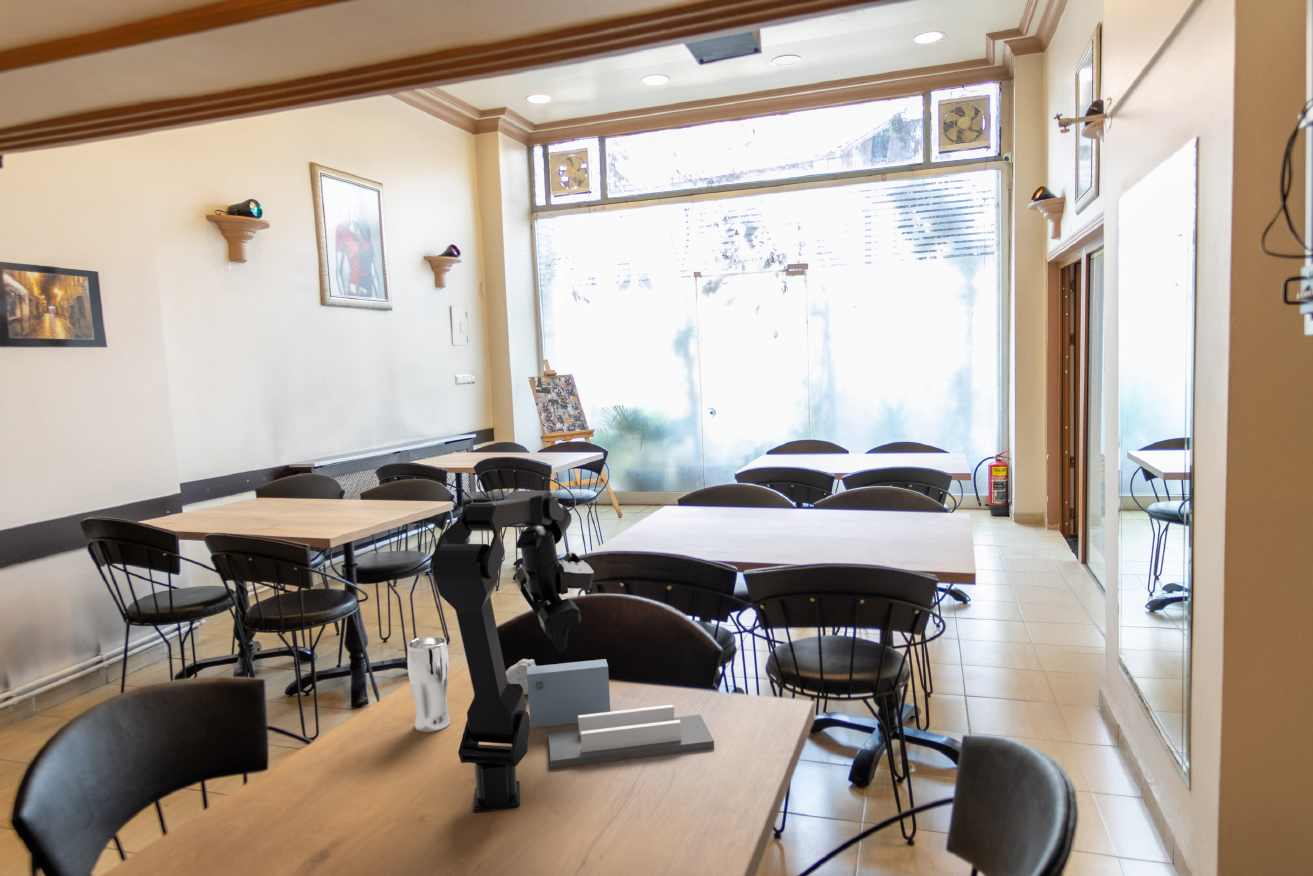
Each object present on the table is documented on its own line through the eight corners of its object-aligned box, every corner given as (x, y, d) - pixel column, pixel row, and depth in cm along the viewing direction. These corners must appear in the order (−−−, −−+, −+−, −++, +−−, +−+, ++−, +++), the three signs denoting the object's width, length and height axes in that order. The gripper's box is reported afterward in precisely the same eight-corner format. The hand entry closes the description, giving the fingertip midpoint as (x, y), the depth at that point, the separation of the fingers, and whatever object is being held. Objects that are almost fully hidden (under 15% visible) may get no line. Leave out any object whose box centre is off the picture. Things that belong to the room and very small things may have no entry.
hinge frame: (714, 748, 129) (713, 722, 128) (551, 768, 124) (549, 742, 124) (700, 721, 138) (699, 697, 138) (548, 739, 134) (547, 715, 134)
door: (611, 720, 140) (608, 667, 140) (530, 730, 138) (527, 676, 137) (608, 710, 145) (605, 659, 144) (530, 719, 142) (526, 667, 141)
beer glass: (441, 734, 138) (435, 649, 136) (404, 732, 139) (398, 648, 138) (459, 717, 144) (454, 636, 143) (424, 715, 146) (418, 635, 144)
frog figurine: (527, 704, 149) (525, 667, 148) (499, 697, 152) (497, 661, 152) (548, 692, 154) (546, 656, 153) (520, 685, 158) (518, 651, 157)
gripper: (604, 569, 130) (615, 649, 136) (567, 525, 146) (579, 598, 152) (538, 590, 126) (553, 671, 132) (508, 542, 142) (522, 617, 148)
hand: (553, 637), depth 141 cm, fingers open, 9 cm apart
